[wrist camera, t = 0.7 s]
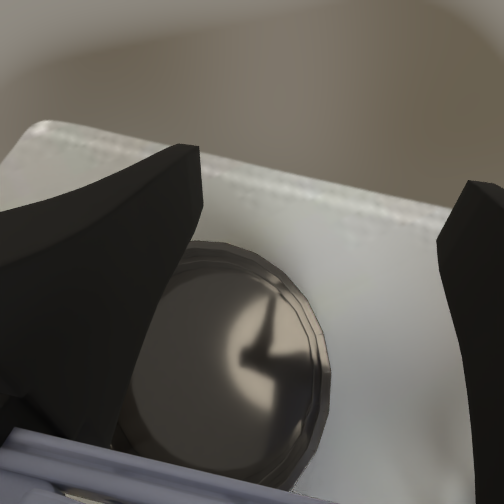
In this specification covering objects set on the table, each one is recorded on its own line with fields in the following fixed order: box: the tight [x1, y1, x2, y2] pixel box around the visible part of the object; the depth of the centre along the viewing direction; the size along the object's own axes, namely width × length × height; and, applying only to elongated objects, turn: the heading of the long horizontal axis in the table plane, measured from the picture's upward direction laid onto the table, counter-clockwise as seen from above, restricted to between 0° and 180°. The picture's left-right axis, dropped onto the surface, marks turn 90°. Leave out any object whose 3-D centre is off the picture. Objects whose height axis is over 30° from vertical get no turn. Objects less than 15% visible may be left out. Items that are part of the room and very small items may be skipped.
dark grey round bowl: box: [110, 241, 331, 492], centre depth 22 cm, size 16×16×4 cm
